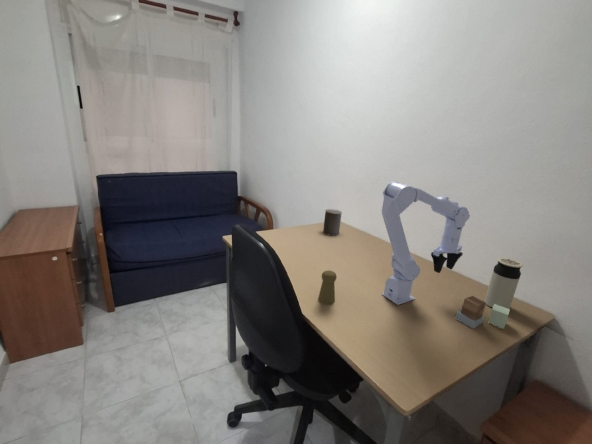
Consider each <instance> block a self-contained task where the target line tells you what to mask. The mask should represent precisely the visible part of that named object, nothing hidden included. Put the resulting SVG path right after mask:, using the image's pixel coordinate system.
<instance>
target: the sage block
mask: <svg viewBox="0 0 592 444" xmlns="http://www.w3.org/2000/svg"><path fill="white" fill-rule="evenodd" d="M510 309H511V308H510ZM510 309H507V308H505V307H502V306H499V305H496V304H494V305H493V308H491V313H490V316H489V318H488V321H487V323H488V322H489V323H491V324H494V325H496V326H498V327H497V328H499V327H500V328H499V329H502V328H503V329H502V330H505V327H506V323H507V321H508V318H509V314H510ZM489 323H488V324H489ZM491 324H490V325H491ZM494 325H493V326H494ZM496 326H495V327H496Z"/></svg>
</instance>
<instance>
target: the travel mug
mask: <svg viewBox="0 0 592 444" xmlns="http://www.w3.org/2000/svg"><path fill="white" fill-rule="evenodd" d="M496 260H497V263H496V264H495V265H494V267H493V271H492V275H491V277H490V281H489V284H488V288H487V291H486V294H485V297H484V299H483V301H484V302H486V306H488V307H490V308H491V307H492V308H493V305H494V304H496V305H499V306H502V307H505V308H507V309H511V306H512V304H513V303H512V302H513V299H514V296H515V293H516V290H517V287H518V285H519V282H520V281H519V280H520V278H521V274H522V273H521V268H523V267H524V265H523V264H522V262H520V261H518V260H515V259H513V258H509V257H508V258H507V257H498V258H497V259H496ZM492 308H491V309H492Z"/></svg>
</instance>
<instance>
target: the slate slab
mask: <svg viewBox="0 0 592 444" xmlns="http://www.w3.org/2000/svg"><path fill="white" fill-rule="evenodd" d="M461 310H462V309H460V310H458V311H457V312H456V315H455V318H456V319H457V321H458V320H459V322H460V321H461V323H462V322H463V323H462V324H463V325H466V326H467V325H468V327H469V326H470V327H469V328H471V327H472V328H471V329H473V328H474V329H476V328H477V327H478V326H479V324H480V325H482V324H483V321H484V318H485V315H482V317H481V318H478V319H476V320H472V319H471V318H469V317H467V316H466V315H464V314H462V313H461ZM456 319H455V320H456ZM476 326H477V327H476Z"/></svg>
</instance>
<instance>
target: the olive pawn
mask: <svg viewBox="0 0 592 444" xmlns="http://www.w3.org/2000/svg"><path fill="white" fill-rule="evenodd" d="M321 280H322V281H321V282H322V283H321V286H320V291H319V294H318V298H317V299H318V301H319V302H320V303H322V304H324V305H333V304H335V302H336V292H335V289H336V288H335V282H336V280H337V274H336V272H335V271H333V270H330V269H329V270H324V271H323V272H322V273H321Z"/></svg>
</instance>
